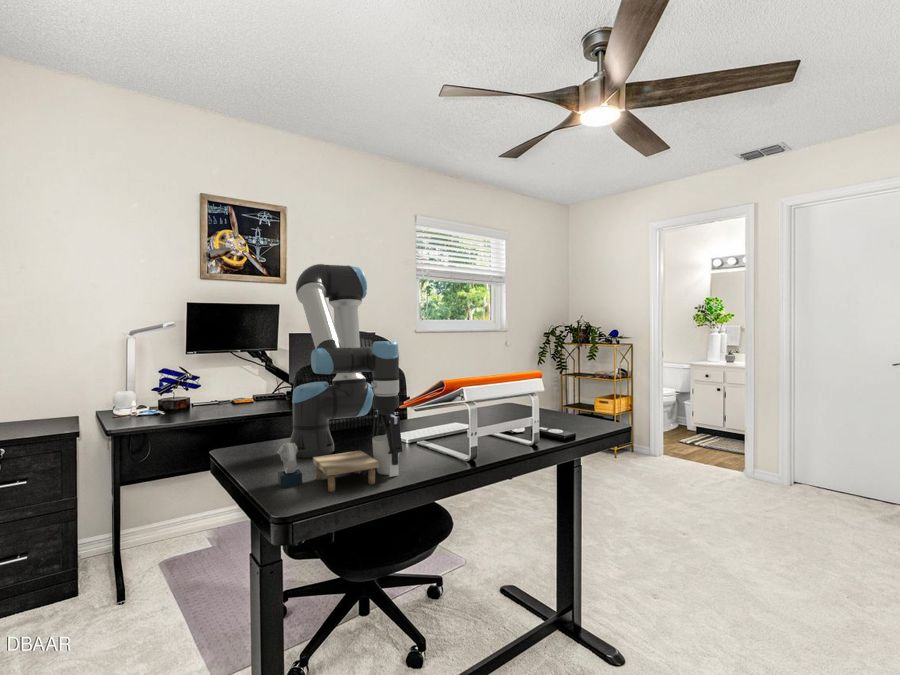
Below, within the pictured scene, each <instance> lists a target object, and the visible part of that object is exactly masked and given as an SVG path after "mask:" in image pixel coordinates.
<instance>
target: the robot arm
mask: <svg viewBox="0 0 900 675" xmlns="http://www.w3.org/2000/svg"><path fill="white" fill-rule="evenodd" d="M367 290H368V281H367V277H366V275H365V272H364V271H363V270H362V268H361V267H358V266H351V265H339V264H323V263H319V264H312V265H310V266H308V267H307V268H306V269H304V270H303V271H302V273H301V274H300V275H299V277H298V278H297V280H296V284H295V293H296V297H297V300H298V302H299V303H300V304H302V308H303V310H304V313H305V317H306V321H307V324H308V327H309V331H310V334H311V335H310V336H311V338H312V341H313V345H314V349H313V350H312V351H311V355H310V364H311V369H312V372H313V373H314V374H317V375H334V374H336V375H335V377H334V378H333V379H332V384H331V385H330V384H329V382H328V381H314V382H308V383H304V384H300V385H298V386H296V387H295V388H294V389H293V392H292V399H291V403H292V433H291V436H290V439H289V442H288V443H295V444H296V446H297V454H296V455H295V456H296V458H300V459H301V458H302V459H307V458H313V457H318V456H325V455H331V454H333V452H334V451H335V443H334V439H333V437H332V435H331V431H330V425H329V422H330V421H329V420H337V419H339V420H340V419H348V418H357V417H362V416H364V417H365V416H366V415H367V414H368V413H369V412H370V410H371V408H373V409H374V410H373V422H372V423H373V424H372V436H371V439H372V438H373V437H375V436H382V435H387V439H388V444H389V449H390V452H388V454H389V474H388V477H390V478H391V477H398V476H399V475H400V473H399V466H400V465H399V458H398V453H399V454H400V453H402V452H403V444H402V433H401V423H400V421H401V420H400V419H401V417H400V416H399V415H398V416H396V414H395V409H398V408H399V407H400V396H399V395H398V394H399V392H400V378H399V377H400V376H399V375H400V372H399V370H400V369H399V368H400V366H399V361H400V352H399V344H398V342H397V341H395V340H394V341H392V340H391V341H389V340H386V341H383V340H381V341H379V340H378V341H374V342H373V343H372V346H366V347H361V343H360V342H361V340H360V323H359V322H360V321H359V306H361V304H362V303H363V299H365V298H366V296H367V294H368V292H367ZM327 298H328V303H327V300H326V299H327ZM328 304H329V305H328ZM329 306H331V307H332V309H333V318H332V314H331V312H330V308H329ZM370 372H371V373H372V384H371V383H369V382H367V378H366V377H365V375H363V373H370Z"/></svg>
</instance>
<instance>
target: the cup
mask: <svg viewBox="0 0 900 675" xmlns="http://www.w3.org/2000/svg"><path fill="white" fill-rule="evenodd" d="M371 442H372V454H373V458H374V459H375V460H377V461H378V462H379V467H378V468H375V470H376V472H377V473H378V474H379V475H387V476H389V454H388V452H390V449H389V444H388V439H387V434H385V435H382V436H375V437H373V438H372V437H371ZM399 457H400V452H399V453H398V459H399Z"/></svg>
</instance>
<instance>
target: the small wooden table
mask: <svg viewBox="0 0 900 675" xmlns="http://www.w3.org/2000/svg"><path fill="white" fill-rule="evenodd" d="M312 463H313V464H314V465H315V466H316V469H315V471H316V478H315V479H316V480H317V481H323V480H324V474H325V475H326V476H327V492H330V493H333V492H335V491H336V475H340V474H346V473H353V472H354V474H355V475H359V474H362V471H366V470H367V472H368V474H367V477H368V483H367V484H368V485H375V484H376V468H378V467H379V462H378V461H377V460H375V459H374V457H372V456H371V455H369V454H367V453H365V452H364V451H362V450H356V451H355V450H354V451H347V452H342V453H335V454H333V453H332V454H328V455H324V456H318V457H312Z"/></svg>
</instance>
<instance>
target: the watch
mask: <svg viewBox="0 0 900 675" xmlns="http://www.w3.org/2000/svg"><path fill="white" fill-rule="evenodd" d="M277 454H279V457H280V459H281V461H282V462H283V469H284V470H283V471H281V470H280V471H278V472H277V483H278V486H279V488H280V489H284V488H290V487H296V486H302V485H303V472H302V471H301V470H300V469H299V468H297V463H298V462H297V457H296V456H295V455H296V454H297V446H296V444H295V443H289V442H287V443H283V444H282V445H281V446H280V447H279V448H278V450H277Z"/></svg>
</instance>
